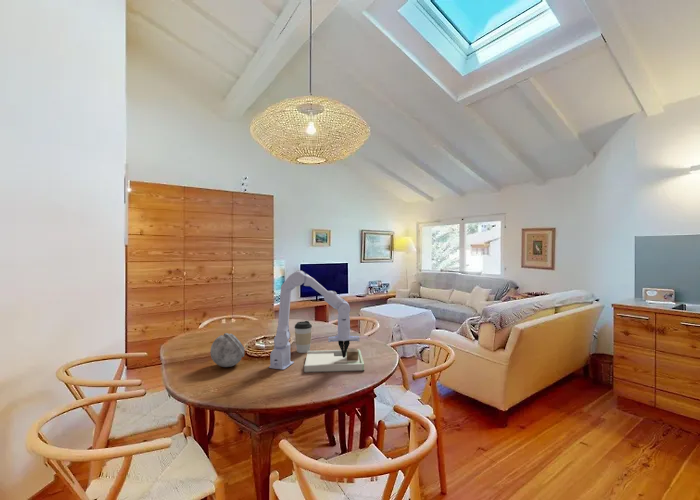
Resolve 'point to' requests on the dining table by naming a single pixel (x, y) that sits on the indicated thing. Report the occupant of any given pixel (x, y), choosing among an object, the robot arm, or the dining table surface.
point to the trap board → (331, 362)
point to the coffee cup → (303, 336)
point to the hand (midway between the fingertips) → (343, 356)
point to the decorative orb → (227, 350)
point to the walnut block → (352, 354)
